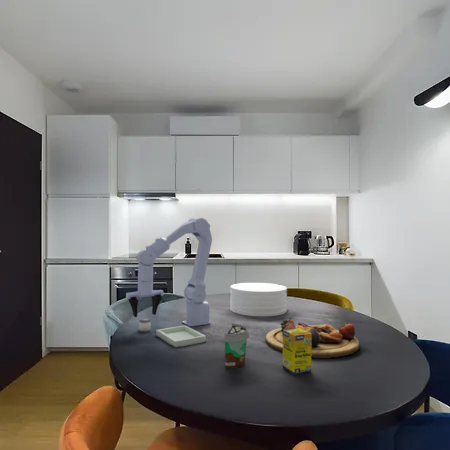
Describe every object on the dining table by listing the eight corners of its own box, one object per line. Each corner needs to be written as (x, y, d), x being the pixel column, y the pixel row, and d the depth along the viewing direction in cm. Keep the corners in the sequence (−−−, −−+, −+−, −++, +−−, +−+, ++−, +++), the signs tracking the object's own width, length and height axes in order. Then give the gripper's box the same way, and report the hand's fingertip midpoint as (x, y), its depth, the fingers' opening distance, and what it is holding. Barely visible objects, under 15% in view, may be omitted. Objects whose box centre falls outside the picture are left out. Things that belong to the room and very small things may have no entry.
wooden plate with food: (358, 335, 133) (357, 314, 134) (361, 365, 103) (361, 336, 103) (275, 328, 144) (274, 308, 144) (256, 353, 114) (255, 327, 114)
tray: (185, 330, 136) (185, 325, 136) (206, 341, 123) (206, 335, 123) (156, 335, 130) (156, 329, 130) (175, 347, 116) (175, 341, 116)
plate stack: (295, 308, 179) (295, 285, 179) (272, 319, 155) (272, 293, 155) (247, 301, 194) (247, 281, 194) (219, 311, 170) (219, 287, 170)
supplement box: (294, 375, 95) (294, 335, 95) (282, 367, 100) (282, 329, 101) (312, 372, 97) (312, 333, 98) (299, 364, 103) (299, 327, 103)
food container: (245, 372, 97) (246, 336, 97) (223, 370, 98) (224, 334, 98) (251, 356, 109) (251, 324, 109) (231, 354, 110) (232, 323, 110)
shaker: (147, 327, 140) (148, 317, 140) (152, 330, 136) (152, 320, 136) (137, 329, 137) (137, 319, 137) (141, 332, 134) (141, 321, 134)
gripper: (158, 278, 144) (158, 311, 144) (123, 280, 136) (123, 315, 136) (165, 280, 138) (165, 314, 138) (129, 282, 130) (129, 319, 130)
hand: (144, 315), depth 137 cm, fingers open, 7 cm apart
